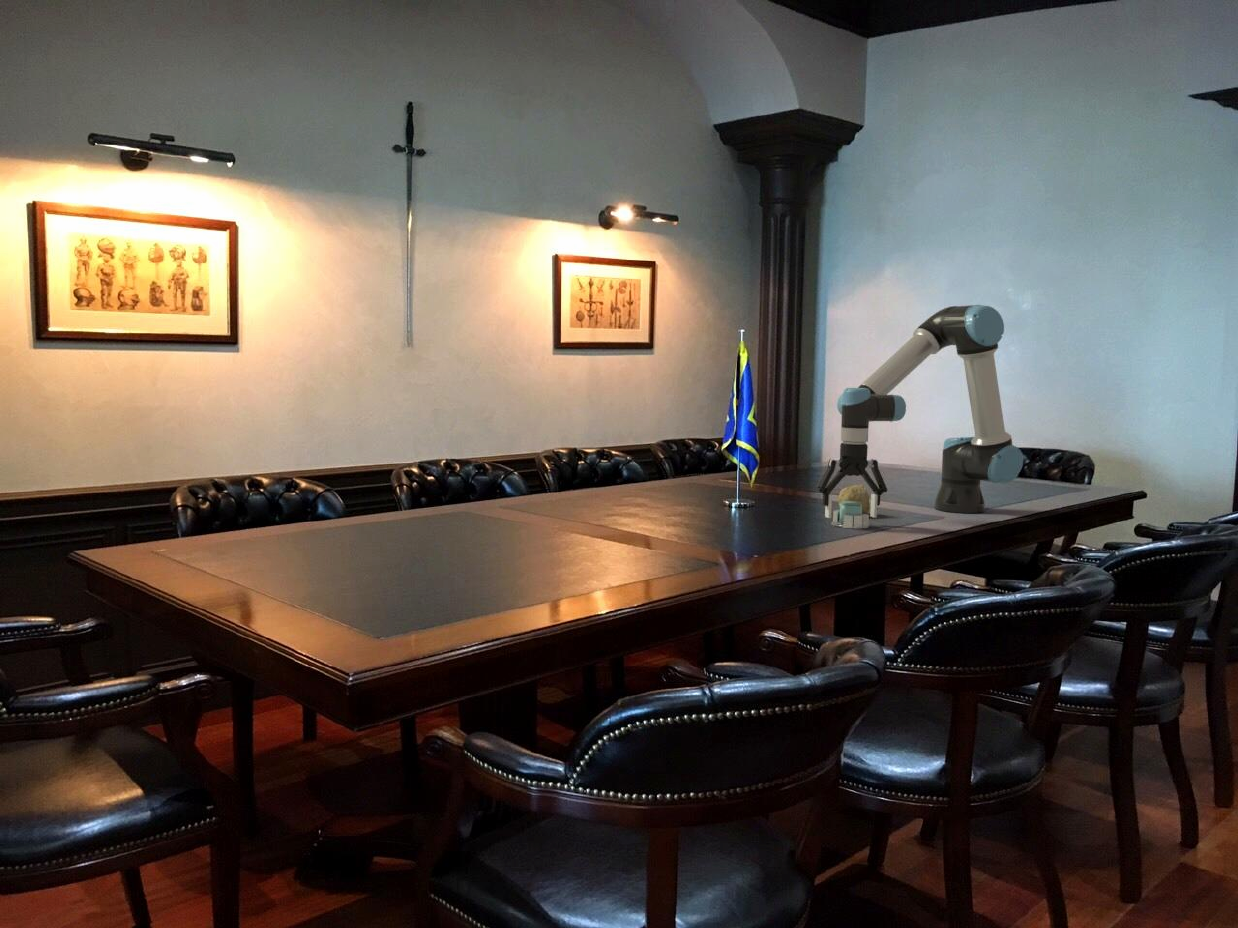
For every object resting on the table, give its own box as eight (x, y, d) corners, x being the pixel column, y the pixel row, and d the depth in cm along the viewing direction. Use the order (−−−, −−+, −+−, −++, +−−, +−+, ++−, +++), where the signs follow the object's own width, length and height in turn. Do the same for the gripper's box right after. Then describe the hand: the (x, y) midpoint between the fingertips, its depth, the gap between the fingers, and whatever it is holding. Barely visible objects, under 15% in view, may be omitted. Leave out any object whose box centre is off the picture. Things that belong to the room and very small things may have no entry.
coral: (882, 494, 308) (854, 481, 306) (867, 525, 309) (839, 512, 307) (870, 487, 318) (842, 475, 315) (855, 517, 319) (827, 504, 316)
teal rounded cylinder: (856, 521, 297) (857, 500, 297) (864, 524, 291) (865, 503, 291) (836, 521, 296) (837, 500, 296) (844, 525, 290) (845, 504, 290)
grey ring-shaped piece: (860, 521, 300) (861, 509, 300) (875, 528, 290) (876, 515, 289) (826, 522, 298) (826, 509, 298) (839, 528, 288) (840, 515, 288)
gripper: (890, 441, 297) (886, 514, 299) (807, 441, 293) (804, 515, 295) (901, 444, 290) (897, 518, 292) (816, 443, 286) (813, 519, 288)
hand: (850, 517), depth 294 cm, fingers open, 13 cm apart
